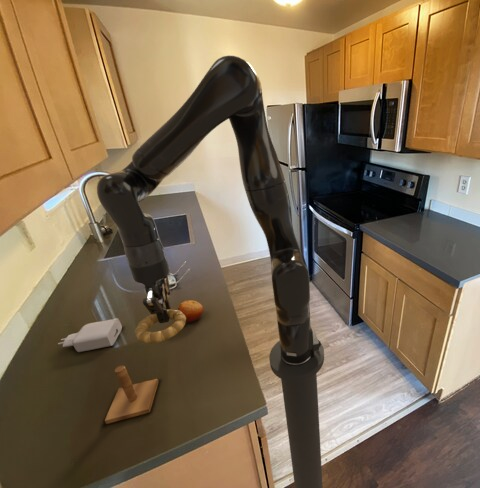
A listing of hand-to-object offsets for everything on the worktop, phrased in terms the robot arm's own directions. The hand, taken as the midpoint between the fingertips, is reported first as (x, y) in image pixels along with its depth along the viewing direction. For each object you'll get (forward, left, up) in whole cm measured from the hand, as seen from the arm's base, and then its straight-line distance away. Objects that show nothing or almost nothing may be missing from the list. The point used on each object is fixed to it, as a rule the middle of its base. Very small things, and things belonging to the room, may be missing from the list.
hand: (165, 317), depth 71 cm
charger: (+30, -20, -17) cm, 40 cm away
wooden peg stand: (+10, +8, -17) cm, 21 cm away
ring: (0, +4, +1) cm, 4 cm away
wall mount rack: (+11, -53, -17) cm, 57 cm away
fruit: (0, -22, -17) cm, 28 cm away
